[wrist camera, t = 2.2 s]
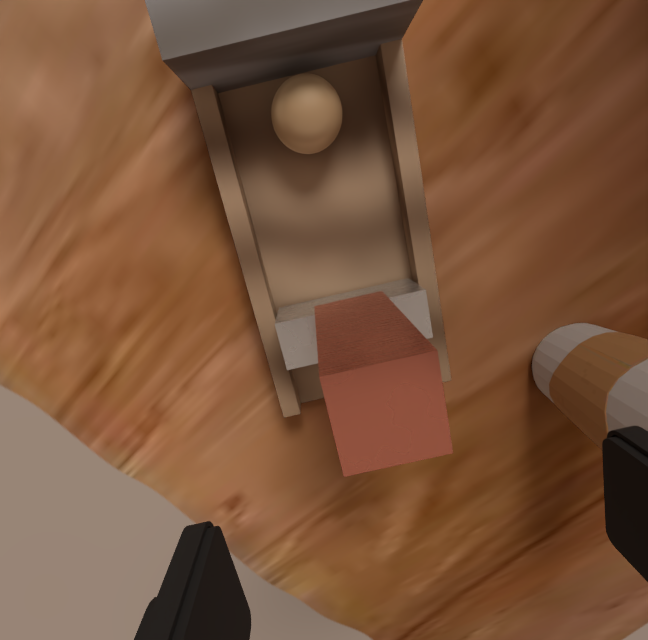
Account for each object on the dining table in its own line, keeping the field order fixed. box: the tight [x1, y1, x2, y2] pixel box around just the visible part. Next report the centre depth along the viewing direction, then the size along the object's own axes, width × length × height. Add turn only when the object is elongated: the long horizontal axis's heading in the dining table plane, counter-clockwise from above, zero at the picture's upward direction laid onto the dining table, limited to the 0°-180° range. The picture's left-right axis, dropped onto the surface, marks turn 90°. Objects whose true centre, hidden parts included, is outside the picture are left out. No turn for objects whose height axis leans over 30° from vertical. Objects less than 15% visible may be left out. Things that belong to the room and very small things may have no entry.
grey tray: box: [145, 0, 451, 417], centre depth 23 cm, size 24×12×7 cm, turn 13°
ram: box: [275, 278, 453, 477], centre depth 20 cm, size 4×9×14 cm, turn 103°
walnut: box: [271, 73, 342, 154], centre depth 22 cm, size 4×4×4 cm
